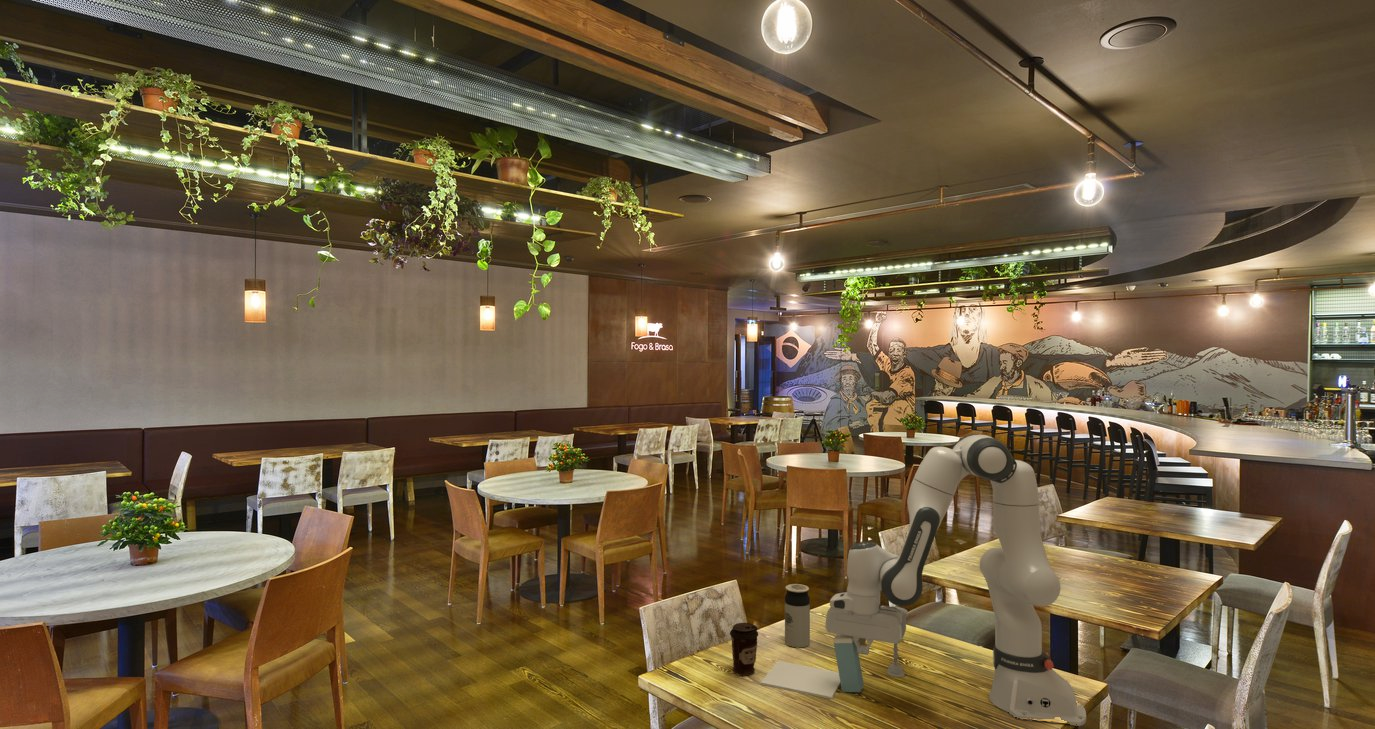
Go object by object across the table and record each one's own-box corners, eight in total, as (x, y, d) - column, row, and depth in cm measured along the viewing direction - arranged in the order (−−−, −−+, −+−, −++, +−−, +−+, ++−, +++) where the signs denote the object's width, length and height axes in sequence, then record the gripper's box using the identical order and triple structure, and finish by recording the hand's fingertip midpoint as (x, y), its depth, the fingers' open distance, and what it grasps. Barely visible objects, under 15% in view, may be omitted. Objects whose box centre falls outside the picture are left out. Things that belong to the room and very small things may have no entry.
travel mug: (804, 637, 223) (804, 582, 224) (813, 647, 215) (813, 590, 216) (781, 639, 221) (781, 584, 222) (790, 649, 214) (790, 591, 214)
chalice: (909, 679, 192) (909, 615, 193) (884, 677, 194) (884, 614, 194) (906, 668, 200) (906, 607, 200) (882, 666, 201) (882, 605, 201)
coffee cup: (765, 671, 198) (765, 626, 198) (747, 680, 191) (747, 634, 192) (741, 662, 203) (741, 619, 204) (723, 671, 197) (724, 626, 198)
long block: (863, 684, 187) (854, 633, 189) (860, 692, 183) (851, 639, 184) (846, 684, 189) (837, 633, 191) (842, 691, 185) (833, 639, 186)
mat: (844, 675, 195) (844, 673, 195) (831, 699, 180) (831, 697, 181) (778, 662, 204) (778, 660, 204) (760, 684, 189) (760, 682, 189)
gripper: (904, 604, 184) (904, 656, 183) (829, 593, 192) (829, 642, 192) (901, 612, 178) (901, 665, 178) (824, 600, 187) (823, 650, 186)
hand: (863, 653), depth 185 cm, fingers closed
